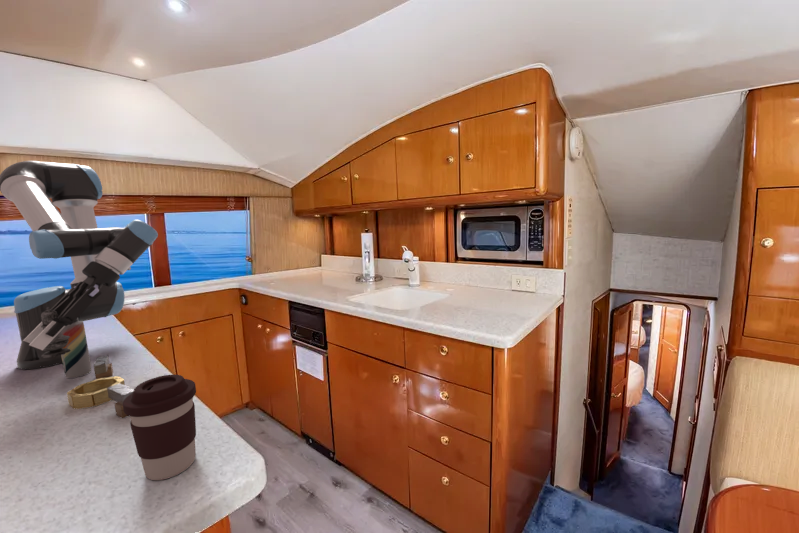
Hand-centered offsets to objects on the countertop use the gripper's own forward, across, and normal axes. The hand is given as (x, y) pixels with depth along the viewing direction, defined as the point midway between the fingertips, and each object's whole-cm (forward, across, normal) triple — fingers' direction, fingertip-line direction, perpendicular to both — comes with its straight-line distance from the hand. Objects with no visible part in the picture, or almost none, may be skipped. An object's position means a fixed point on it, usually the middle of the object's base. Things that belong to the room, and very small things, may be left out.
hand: (32, 345), depth 83 cm
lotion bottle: (+4, +13, -17) cm, 22 cm away
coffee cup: (+6, -55, -14) cm, 57 cm away
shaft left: (+1, +2, -19) cm, 19 cm away
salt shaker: (0, 0, -5) cm, 5 cm away
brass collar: (+5, -11, -15) cm, 19 cm away
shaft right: (+4, -25, -16) cm, 30 cm away
